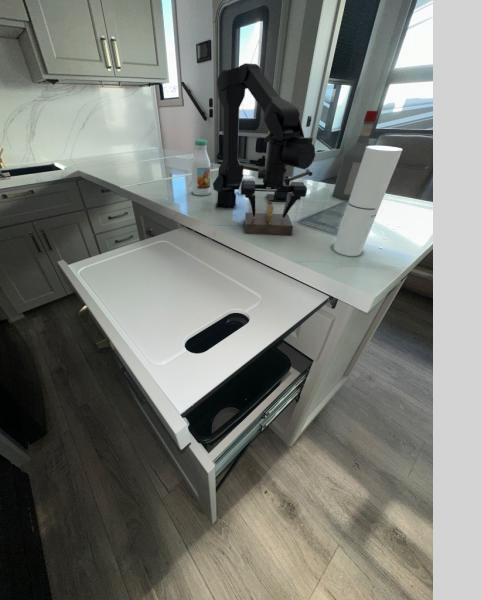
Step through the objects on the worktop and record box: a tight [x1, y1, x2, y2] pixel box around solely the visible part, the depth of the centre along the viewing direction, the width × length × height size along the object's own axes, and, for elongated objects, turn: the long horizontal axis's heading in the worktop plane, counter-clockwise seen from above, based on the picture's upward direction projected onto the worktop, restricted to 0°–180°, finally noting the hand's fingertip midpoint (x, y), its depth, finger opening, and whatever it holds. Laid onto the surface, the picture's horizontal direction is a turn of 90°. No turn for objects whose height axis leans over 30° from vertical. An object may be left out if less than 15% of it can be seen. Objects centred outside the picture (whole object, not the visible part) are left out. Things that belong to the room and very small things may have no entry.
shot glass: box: [238, 174, 256, 195], centre depth 113 cm, size 7×7×7 cm
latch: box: [285, 168, 313, 182], centre depth 103 cm, size 12×5×2 cm, turn 86°
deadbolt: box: [265, 200, 274, 222], centre depth 83 cm, size 5×1×5 cm, turn 174°
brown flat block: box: [244, 212, 294, 236], centre depth 85 cm, size 14×10×3 cm
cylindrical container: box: [333, 145, 403, 257], centre depth 66 cm, size 7×7×25 cm
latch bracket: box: [266, 175, 291, 203], centre depth 106 cm, size 10×8×9 cm
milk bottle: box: [191, 139, 211, 196], centre depth 109 cm, size 8×8×20 cm
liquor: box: [332, 110, 379, 202], centre depth 103 cm, size 9×9×30 cm
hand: (268, 216), depth 84 cm, fingers open, 9 cm apart
